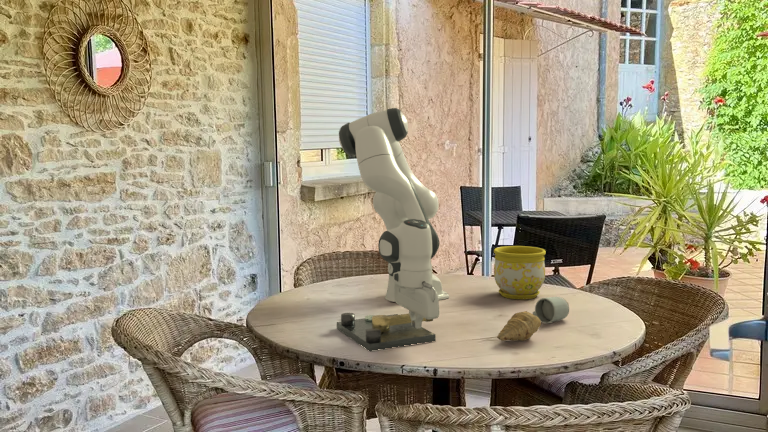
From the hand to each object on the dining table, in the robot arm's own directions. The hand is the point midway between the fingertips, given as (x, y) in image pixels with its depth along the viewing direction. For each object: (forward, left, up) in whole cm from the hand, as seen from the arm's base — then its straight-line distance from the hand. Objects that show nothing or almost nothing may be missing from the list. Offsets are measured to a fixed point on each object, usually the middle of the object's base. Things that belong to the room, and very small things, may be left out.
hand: (416, 327), depth 190 cm
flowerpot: (-57, -30, -4) cm, 64 cm away
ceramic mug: (-46, +1, -4) cm, 46 cm away
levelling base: (+6, -8, -4) cm, 11 cm away
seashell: (-24, +14, -4) cm, 28 cm away
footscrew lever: (+1, -6, -1) cm, 6 cm away
